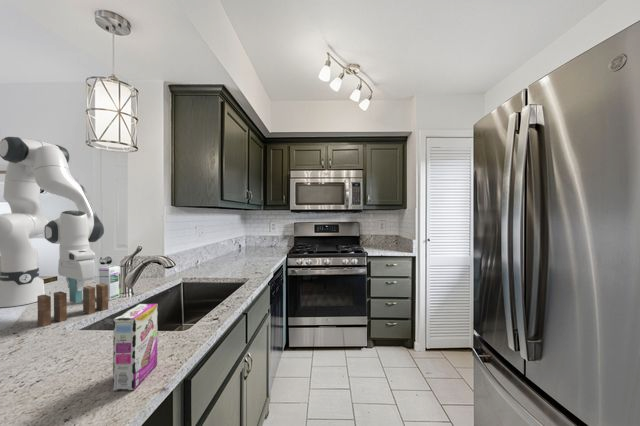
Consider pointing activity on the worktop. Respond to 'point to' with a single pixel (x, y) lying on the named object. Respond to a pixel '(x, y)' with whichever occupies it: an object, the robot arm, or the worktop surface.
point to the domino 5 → (102, 296)
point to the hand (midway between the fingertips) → (75, 289)
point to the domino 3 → (74, 291)
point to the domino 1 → (44, 310)
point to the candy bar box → (134, 346)
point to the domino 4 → (89, 299)
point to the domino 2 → (60, 306)
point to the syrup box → (111, 280)
